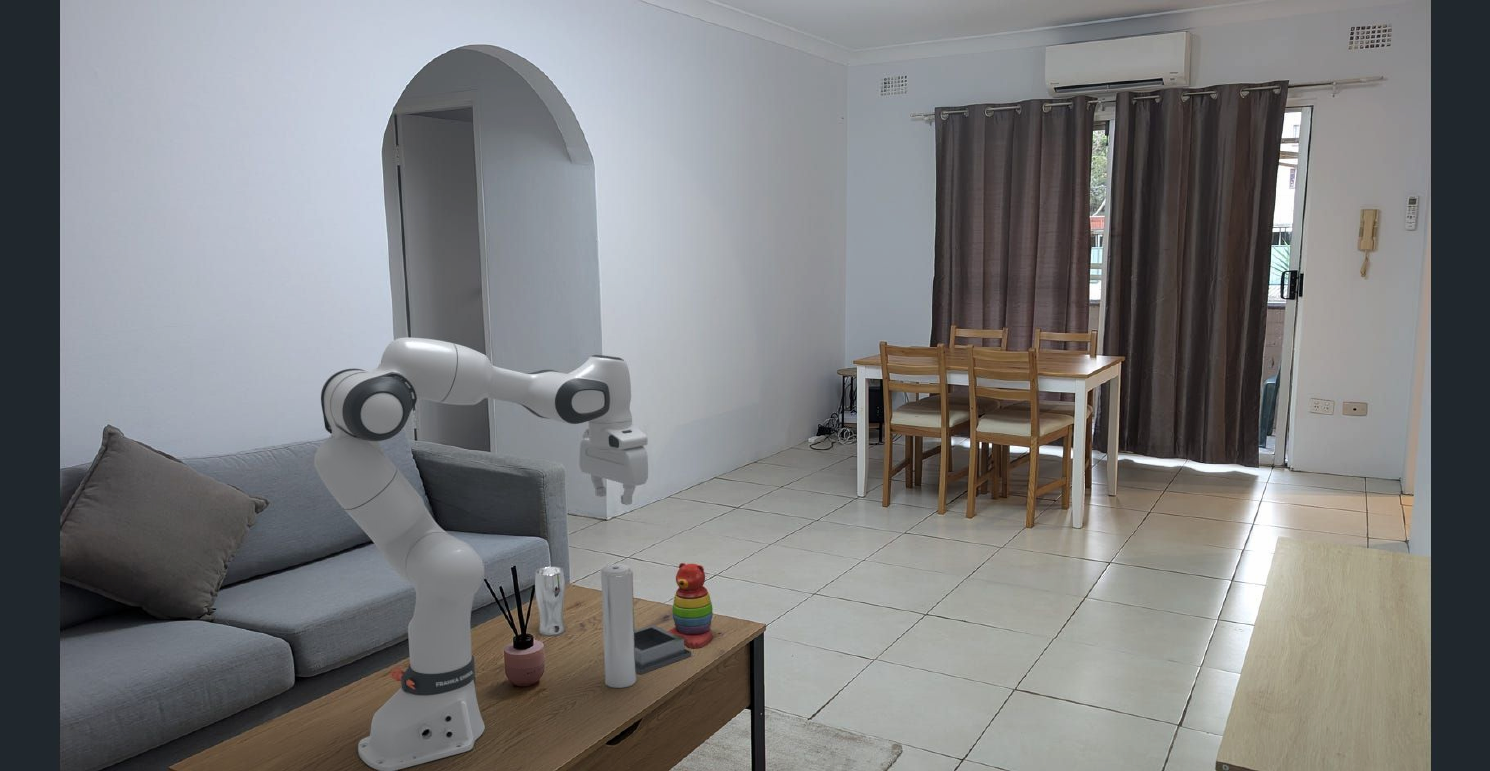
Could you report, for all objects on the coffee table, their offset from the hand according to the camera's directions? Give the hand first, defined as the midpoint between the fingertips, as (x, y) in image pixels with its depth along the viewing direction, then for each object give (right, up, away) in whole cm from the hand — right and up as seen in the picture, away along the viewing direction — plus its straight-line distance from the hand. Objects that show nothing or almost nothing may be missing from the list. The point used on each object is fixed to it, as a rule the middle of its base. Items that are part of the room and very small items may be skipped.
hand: (613, 499), depth 199 cm
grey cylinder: (+1, -39, +5) cm, 40 cm away
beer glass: (-19, -36, +34) cm, 53 cm away
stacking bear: (+15, -36, +28) cm, 48 cm away
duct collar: (+5, -37, +18) cm, 42 cm away
